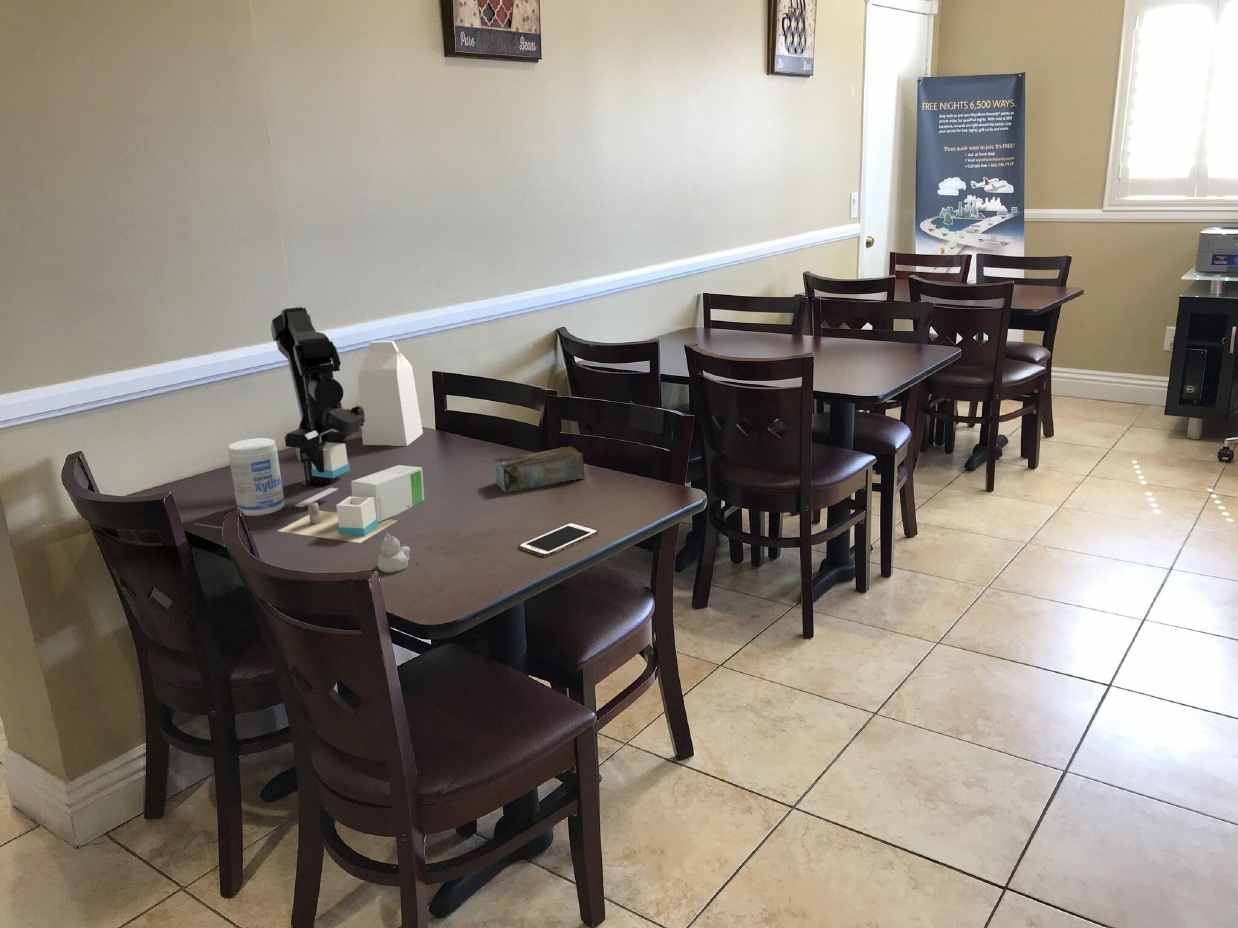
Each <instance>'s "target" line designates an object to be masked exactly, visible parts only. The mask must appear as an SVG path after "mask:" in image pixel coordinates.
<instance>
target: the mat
mask: <svg viewBox="0 0 1238 928" xmlns="http://www.w3.org/2000/svg"><path fill="white" fill-rule="evenodd" d="M338 490H339V488H335V487H329V488H327V489H325V490H322V491H321V492H319V493H316V494H315V495H313V496H310V497H309V498H307V499H305V500H302V501H301V502H299V503H297V504H295V505H294V507H299V508H304V507H305V506H308V504H309V503H313V502H316V501H318V500H319V499H321V498H324V497H325V496H328V495H330V494H332V493H333V492H336V491H338Z"/></svg>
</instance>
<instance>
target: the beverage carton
mask: <svg viewBox="0 0 1238 928" xmlns="http://www.w3.org/2000/svg"><path fill="white" fill-rule="evenodd" d="M583 455H584V454H583V452H581V451H579V450H578V449H577V448H575V447H573V446H566V447H565V446H562V447H559V448H556V449H549V450H544V451H537V452H533V453H526V454H520V455H514V456H508V457H503V458H495V459H494V460H493V462H494V463H493V464H494V470H495V471H494V475H495V480H496V485H497V486H498V487H500V488H501V490H502V491H503V492H504V493H510V492H517V491H522V490H530V489H534V488H540V487H545V486H546V485H547V486H551V485H555V484H556V483H557V484H561V482H562V483H566V482H567V481H568V482H571V481H570V480H574V481H577V480H576V479H580V480H583V478H584V479H585V464H584V462H585V461H584V456H583Z"/></svg>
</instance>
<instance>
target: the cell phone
mask: <svg viewBox="0 0 1238 928" xmlns="http://www.w3.org/2000/svg"><path fill="white" fill-rule="evenodd" d="M597 533H599V530H598V529H596V528H594V527H593V528H592V527H590V526H586V525H583V524H579V523H576V522H568V523H567V524H563V525H561V526H559V527H556V528H554V529H552V530H549V531H547V532H545V533H543V534H541V535H538V536H536V537H533V538H530V539H529V540H526V541H523V542H521V543H520V544H518V549H519V548H521V549H525V550H527V551H530V552H533V553H535V554H539V555H542V556H548V555H551V554H553V553H555V552H556V551H559V550H561V549H563V548H566V547H568V546H570V545H573V544H574V543H577V542H580V541H581V540H584V539H585V538H588V537H590V536H591V535H594V534H597ZM580 543H581V542H580ZM535 554H534V555H535ZM555 554H556V553H555ZM551 556H552V555H551Z"/></svg>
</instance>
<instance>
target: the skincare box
mask: <svg viewBox="0 0 1238 928" xmlns="http://www.w3.org/2000/svg"><path fill="white" fill-rule="evenodd" d="M350 485H351V486H350V488H351V496H357V497H374V505H375V512H376V518H378V522H380V521H383V520H385V519H391V518H393V517H395V516H397V515H399V514H401V513H403V512H405V511H407V510H408V509H410V508H412V507H414V506H416V505H418V504H419V503H422V502H423V501H425V491H424V477H423V467H421V466H412V465H411V466H410V465H401V464H397V465H395V466H391V467H388V468H386V469H383V470H380V471H377V472H375V473H372V474H368V475H366V476H362V477H359V478H357V479H355V480H351V481H350Z"/></svg>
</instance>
